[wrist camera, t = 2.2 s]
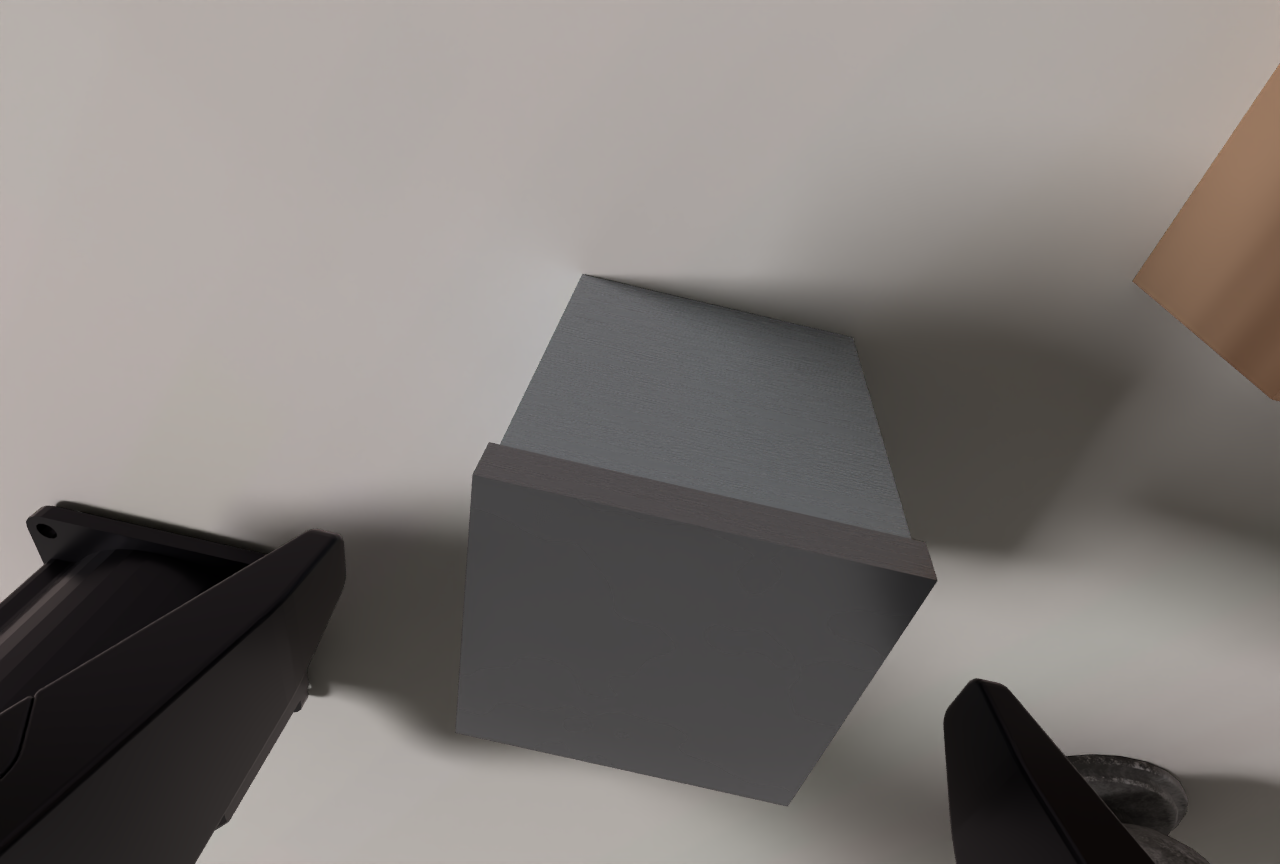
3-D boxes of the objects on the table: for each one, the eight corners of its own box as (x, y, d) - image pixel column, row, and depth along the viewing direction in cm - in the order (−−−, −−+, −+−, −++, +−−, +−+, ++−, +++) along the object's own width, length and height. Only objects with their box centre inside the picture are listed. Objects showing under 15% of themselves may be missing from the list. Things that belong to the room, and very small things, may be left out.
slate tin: (545, 483, 15) (455, 732, 10) (577, 266, 12) (472, 474, 7) (772, 535, 15) (787, 806, 11) (859, 332, 12) (937, 580, 8)
